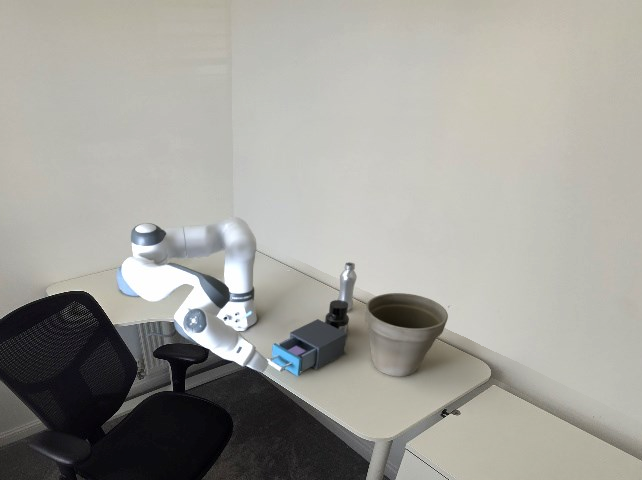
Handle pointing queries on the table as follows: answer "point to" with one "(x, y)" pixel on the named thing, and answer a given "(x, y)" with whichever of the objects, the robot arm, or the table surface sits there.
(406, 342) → the flower pot
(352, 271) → the silver metal bottle
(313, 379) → the table surface
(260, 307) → the table surface
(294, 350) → the purple cube
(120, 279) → the blue kettle
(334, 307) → the ink bottle
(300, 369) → the blue drawer
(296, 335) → the drawer cabinet
